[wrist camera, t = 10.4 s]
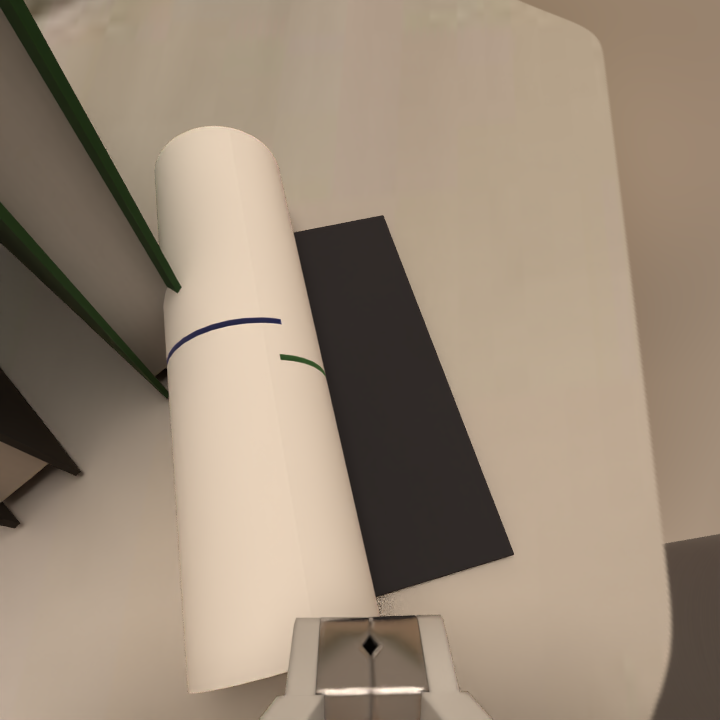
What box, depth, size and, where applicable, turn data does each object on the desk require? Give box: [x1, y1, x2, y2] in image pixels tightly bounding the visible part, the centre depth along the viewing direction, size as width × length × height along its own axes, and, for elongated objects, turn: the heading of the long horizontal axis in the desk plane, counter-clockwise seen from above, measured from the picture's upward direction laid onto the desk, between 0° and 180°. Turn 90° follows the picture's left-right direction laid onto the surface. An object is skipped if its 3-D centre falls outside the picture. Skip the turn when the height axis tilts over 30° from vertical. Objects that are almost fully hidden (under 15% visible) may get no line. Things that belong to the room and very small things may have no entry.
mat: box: [294, 215, 514, 597], centre depth 27 cm, size 14×22×1 cm, turn 15°
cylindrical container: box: [155, 126, 380, 693], centre depth 23 cm, size 7×7×25 cm
